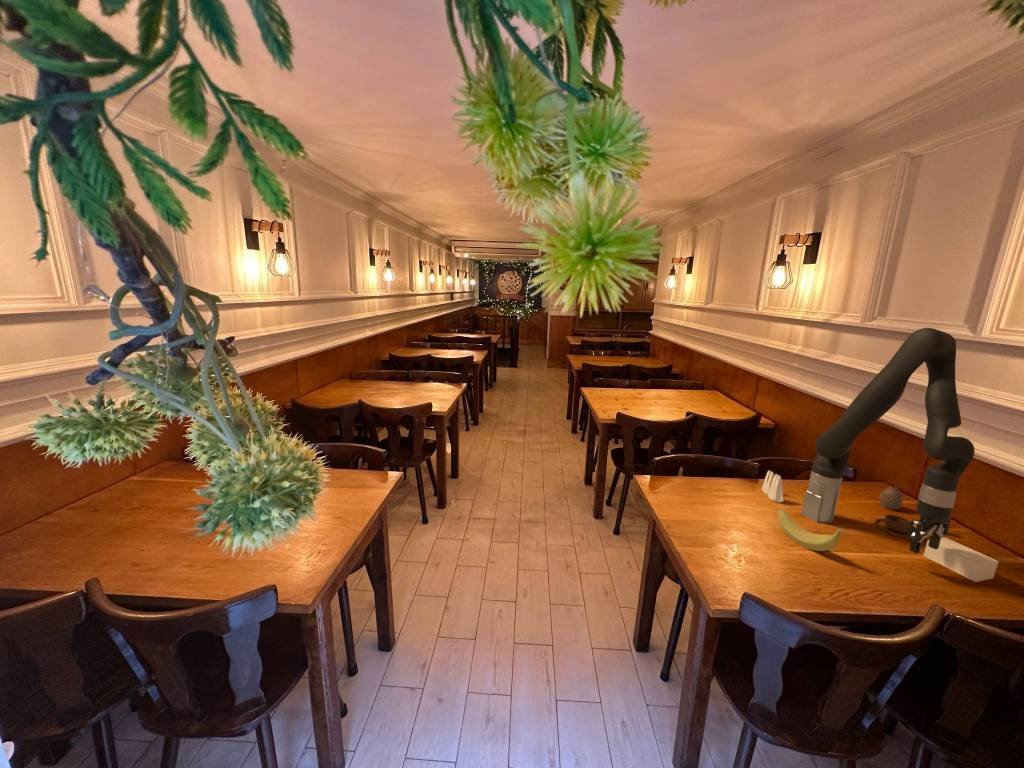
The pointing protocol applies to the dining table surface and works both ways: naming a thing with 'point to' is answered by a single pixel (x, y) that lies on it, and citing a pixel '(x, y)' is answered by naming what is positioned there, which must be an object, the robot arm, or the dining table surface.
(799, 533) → the banana
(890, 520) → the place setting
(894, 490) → the grey rounded lump
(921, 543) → the robot arm
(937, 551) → the block
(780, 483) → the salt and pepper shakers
